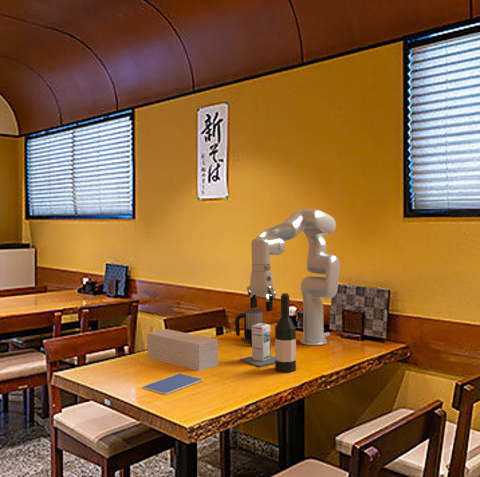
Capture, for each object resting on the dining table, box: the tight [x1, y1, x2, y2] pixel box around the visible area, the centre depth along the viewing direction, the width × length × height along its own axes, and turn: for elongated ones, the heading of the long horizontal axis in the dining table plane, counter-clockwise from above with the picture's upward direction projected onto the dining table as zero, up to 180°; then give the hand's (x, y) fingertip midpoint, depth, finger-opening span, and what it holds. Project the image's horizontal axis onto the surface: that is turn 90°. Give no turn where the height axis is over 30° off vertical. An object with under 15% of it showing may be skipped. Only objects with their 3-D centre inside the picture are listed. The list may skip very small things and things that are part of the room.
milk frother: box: [234, 308, 264, 346], centre depth 249 cm, size 14×16×15 cm
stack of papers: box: [146, 328, 219, 372], centre depth 217 cm, size 32×11×11 cm, turn 49°
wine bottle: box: [274, 292, 297, 374], centre depth 203 cm, size 8×8×30 cm
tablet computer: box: [142, 373, 204, 396], centre depth 187 cm, size 19×13×1 cm, turn 142°
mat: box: [239, 355, 275, 368], centre depth 216 cm, size 13×13×1 cm
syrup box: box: [251, 323, 272, 361], centre depth 216 cm, size 6×6×14 cm
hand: (261, 309), depth 215 cm, fingers open, 9 cm apart
